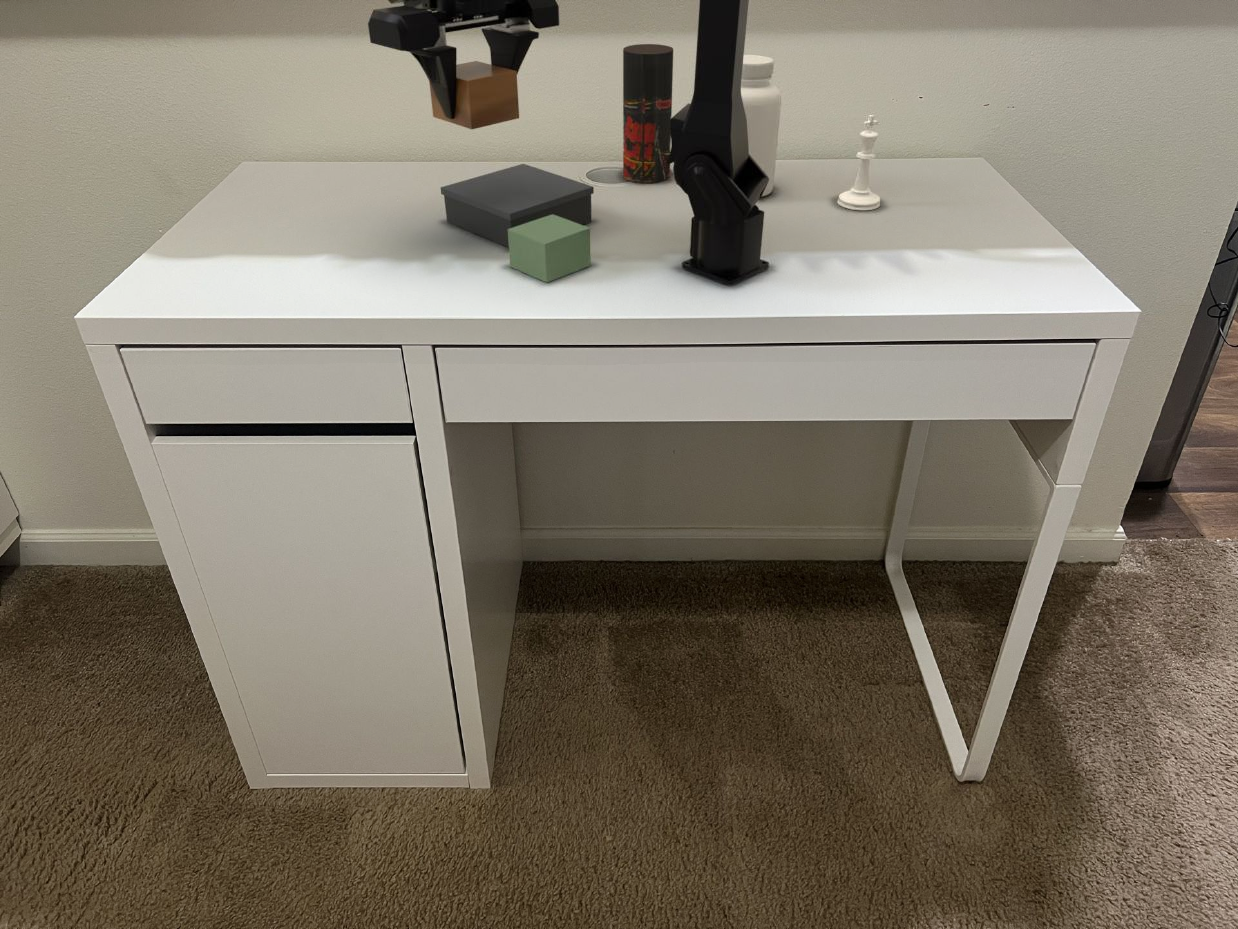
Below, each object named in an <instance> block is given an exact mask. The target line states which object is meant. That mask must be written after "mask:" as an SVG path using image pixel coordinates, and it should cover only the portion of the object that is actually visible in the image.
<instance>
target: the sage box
mask: <svg viewBox="0 0 1238 929" xmlns="http://www.w3.org/2000/svg"><path fill="white" fill-rule="evenodd" d="M508 241H509V248H508V251H509V252H508V254H509V266H510V268H511V269H514V270H516V271H519V272H521V273H524V274H526V275H528V276H529V277H532V278H535V279H537V280H540V281H542V282H543V283H546V284H548V283H550V282H553V281H555V280H558V279H560V278H563V277H565V276H568V275H571V274H573V273H576V272H578V271H581V270H583V269H586V268H588V267H591V266H592V262H591V261H592V260H591V259H592V258H591V256H592V255H591V227H589V226H586V225H584V224H583V225H580V224H578V223H575V222H572V221H570V220H567V219H564V218H561V217H559V216H556V215H553V214H552V215H549V216H546V217H543V218H540V219H537V220H534V221H531V222H528V223H525V224H522V225H519V226H516V227H513V228H510V229H508Z"/></svg>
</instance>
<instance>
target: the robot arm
mask: <svg viewBox="0 0 1238 929" xmlns="http://www.w3.org/2000/svg"><path fill="white" fill-rule="evenodd" d="M387 1H388V2H389V3H390V4H392V5H393V4H400V3H401V4H402V3H403V5H399V6H390V7H385V8H383V7H382V8H376V9H373V10H372V12H371V15H370V17H369V20H368V23H367V27H368V28H367V29H368V34H369V42H370V43H371V44H374V45H378V46H382V47H385V48H389V49H392V50H395V51H396V50H397V51H401V52H407V53H410V54H411V56H412V57H414V59H415V60H416V61H417V63H419V65H420V67H421V68H422V71H423V72H424V74H425V76H426V78H427V79H428V81H429V82H430V84H431V86H432V88H433V91H434V93H435V95H436V97H437V99H438V102H439V104H440V106H441V108H442V110H443V113H444V115H445V117H446V118H449V119H454V118H455V111H456V65H457V47H456V46H452V45H448V44H447V35H446V33H453V32H460V31H464V30H465V31H466V30H472V29H478V28H480V29H481V32H482V34H483V36H484V39H485V40H486V41H485V42H486V43H487V45H488V48H489V52H490V53H489V54H490V65H494V66H498V67H502V68H506V69H510V70H514V71H516V72H517V75H518V74H519V72H520V69H521V66H522V64H523V62H524V60H525V59H526V56H527V54H528V52H529V50H530V48H531V45H532V43H533V42H534V40H538V39H539V38H540V32H539V31H535V30H531V24H532V26H533V27H534V28H535V29H537V30H541V29H547V28H548V29H549V28H553V27H558V26H560V6H559V4H558V2H557V1H556V0H387ZM749 1H750V0H699V5H698V7H699V8H698V19H697V20H698V21H697V38H696V50H695V51H696V52H695V67H694V68H695V69H694V70H695V71H694V83H693V94H692V98H691V101H690V103H687V104H685V106H684V107H682V108H681V109H680V110H679V111H678V112H677V113H675V114H674V115H672V116H671V120H670V133H671V151H670V155H669V158H668V160H667V164H670V165H671V164H673V169H672V172H673V178H674V181H675V184H676V185H678V186H679V188H680V189H681V190H682V191H683V192H684V194H686V195H687V198H688V201H689V204H690V207H691V210H692V213H693V216H692V217H691V220H690V239H689V240H690V242H689V256H690V257H691V258H688V259H687V260H684V261H682V263H681V268H682V269H684V270H686V271H690V272H693V273H695V274H698V275H701V276H703V277H705V278H709V279H712V280H714V281H716V282H720V283H721V284H723V285H729V286H731V285H735V284H736V283H739V282H741V281H743V280H745V279H748V278H749V277H752V276H754V275H756V274H758V273H760V272H762V271H764V270H766V269H767V270H768V269H769V268H770V262H769V261H767V260H765V259H762V258H761V254H762V242H763V234H764V233H763V232H764V231H763V230H764V221H765V211H764V210H762V209H759V206H758V205H757V202H758V201H759V199H760V200H761V198H762V197H761V196H762V195H763V193H764V190H765V188H766V186H767V184H768V182H769V177H768V176H767V175H766V174H765V172H764V171H763V170H762V169H761V168H760V166H759V165H758V164H757V163H756V162H755V160H754V159H753V158H752V157H751V156H750V154H749V146H748V132H747V119H746V114H745V110H744V105H743V101H742V96H741V78H742V67H743V56H744V55H745V43H746V34H747V25H748V24H747V22H748V14H749V13H748V11H749ZM429 82H428V83H429ZM430 84H429V85H430Z"/></svg>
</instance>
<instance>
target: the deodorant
mask: <svg viewBox="0 0 1238 929" xmlns="http://www.w3.org/2000/svg"><path fill="white" fill-rule="evenodd" d="M673 74H674V47H672V46H669V45H665V44H657V43H640V44H631V45H627V46H625V47H623V48H622V117H623V118H622V145H623V146H622V153H623V154H622V158H623V159H622V160H623V162H622V176H623V178H624V179H625V180H627V181H628V182H632V183H637V184H656V183H657V184H658V183H662V182H665V181H666V180H669V179H670V177H671V164H667V160H668V158H669V155H670V152H671V147H672V144H671V133H670V120H671V118H672V117H673V115H672V113H673V110H672V108H673V79H674V78H673V76H674V75H673Z"/></svg>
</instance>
